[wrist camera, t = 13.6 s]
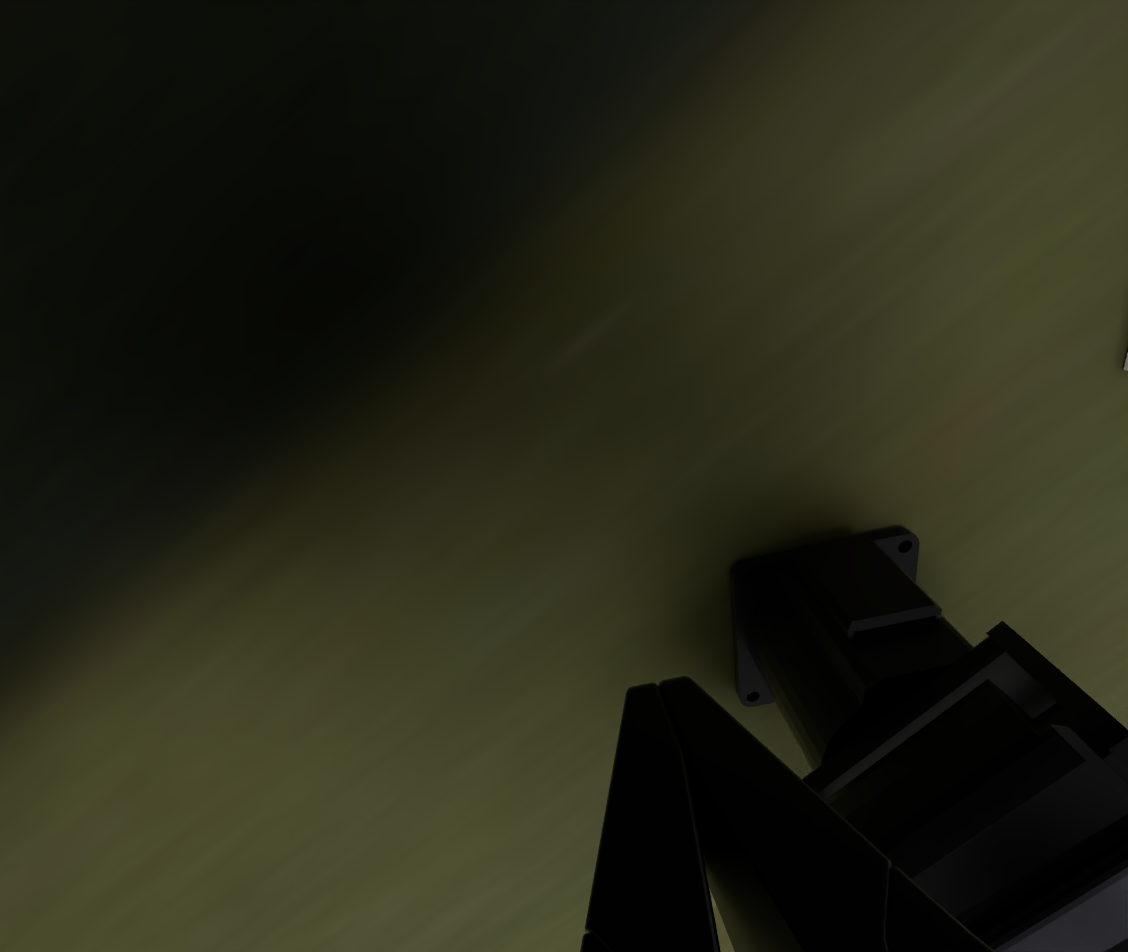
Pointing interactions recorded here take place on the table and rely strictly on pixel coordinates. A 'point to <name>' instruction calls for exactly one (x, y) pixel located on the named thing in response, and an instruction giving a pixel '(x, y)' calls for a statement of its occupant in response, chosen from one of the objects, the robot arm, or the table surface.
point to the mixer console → (1126, 363)
